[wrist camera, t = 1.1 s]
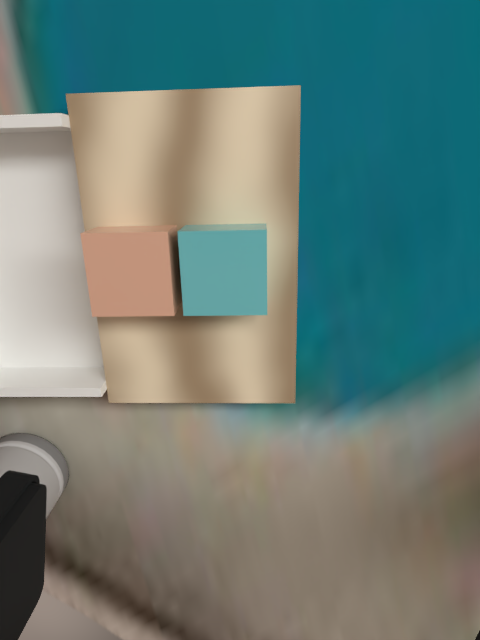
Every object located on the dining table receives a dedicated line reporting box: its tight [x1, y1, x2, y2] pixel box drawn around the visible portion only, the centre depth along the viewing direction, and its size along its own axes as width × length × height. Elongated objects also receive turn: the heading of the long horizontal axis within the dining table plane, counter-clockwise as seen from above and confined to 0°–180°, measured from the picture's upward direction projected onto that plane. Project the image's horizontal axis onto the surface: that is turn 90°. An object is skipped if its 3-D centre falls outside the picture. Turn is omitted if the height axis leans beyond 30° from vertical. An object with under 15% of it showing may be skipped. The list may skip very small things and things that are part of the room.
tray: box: [0, 113, 107, 397], centre depth 27 cm, size 9×16×4 cm, turn 1°
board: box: [66, 85, 301, 403], centre depth 27 cm, size 12×18×2 cm, turn 1°
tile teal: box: [177, 223, 267, 316], centre depth 24 cm, size 4×4×2 cm
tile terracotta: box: [80, 225, 182, 317], centre depth 25 cm, size 4×4×2 cm
